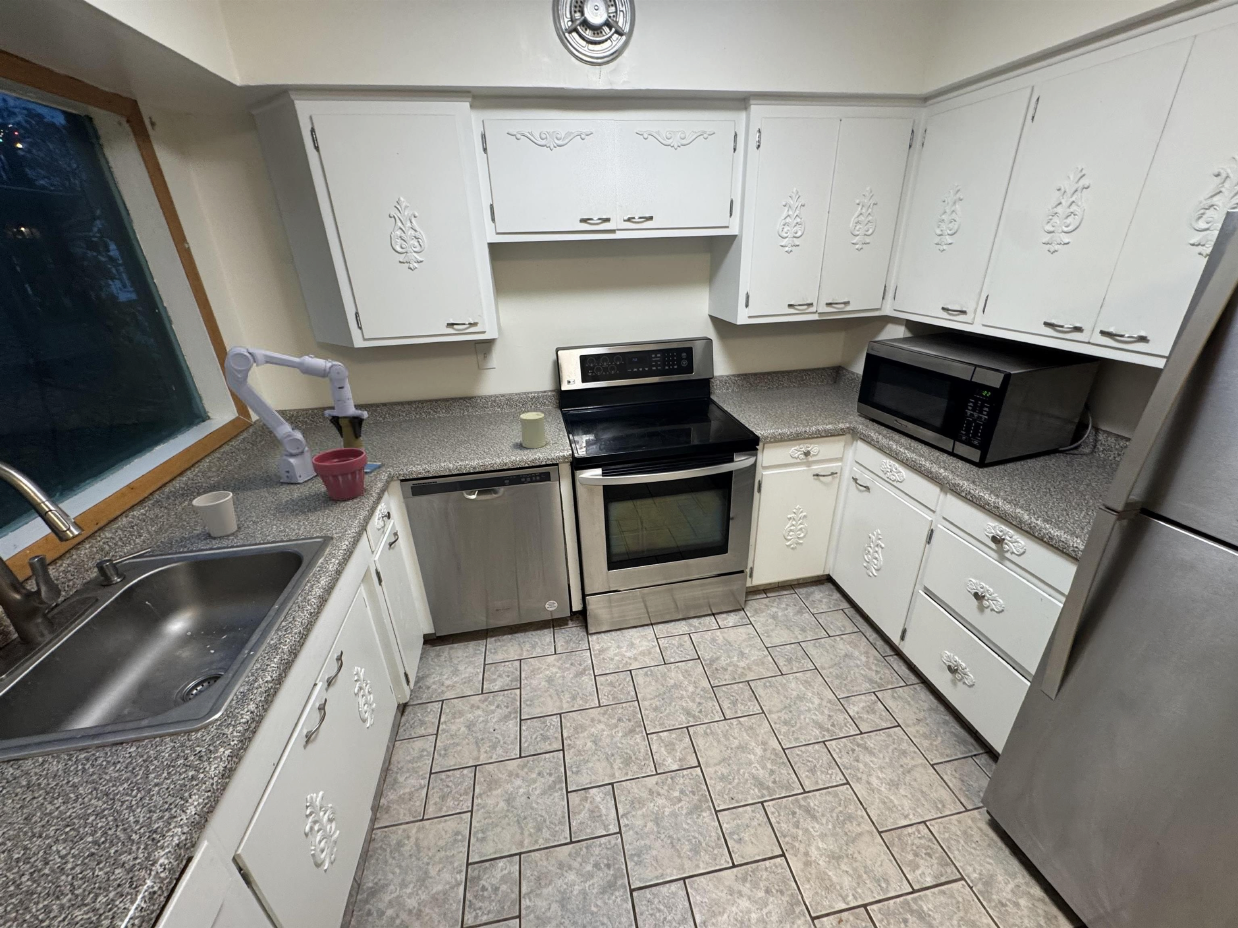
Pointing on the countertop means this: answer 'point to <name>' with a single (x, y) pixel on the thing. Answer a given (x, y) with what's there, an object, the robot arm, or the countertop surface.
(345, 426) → the cork
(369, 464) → the towel
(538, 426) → the can
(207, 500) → the dixie cup
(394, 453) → the countertop surface
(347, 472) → the flower pot
